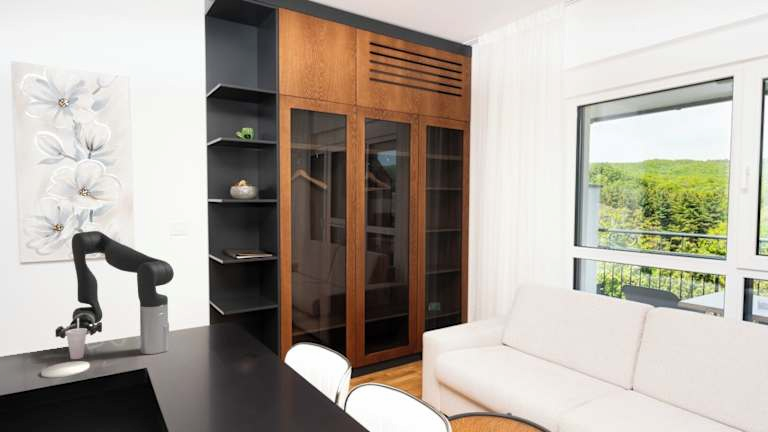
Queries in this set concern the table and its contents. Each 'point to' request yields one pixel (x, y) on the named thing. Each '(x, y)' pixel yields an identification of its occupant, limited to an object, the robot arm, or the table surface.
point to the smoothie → (76, 341)
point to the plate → (65, 369)
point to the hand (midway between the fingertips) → (77, 334)
